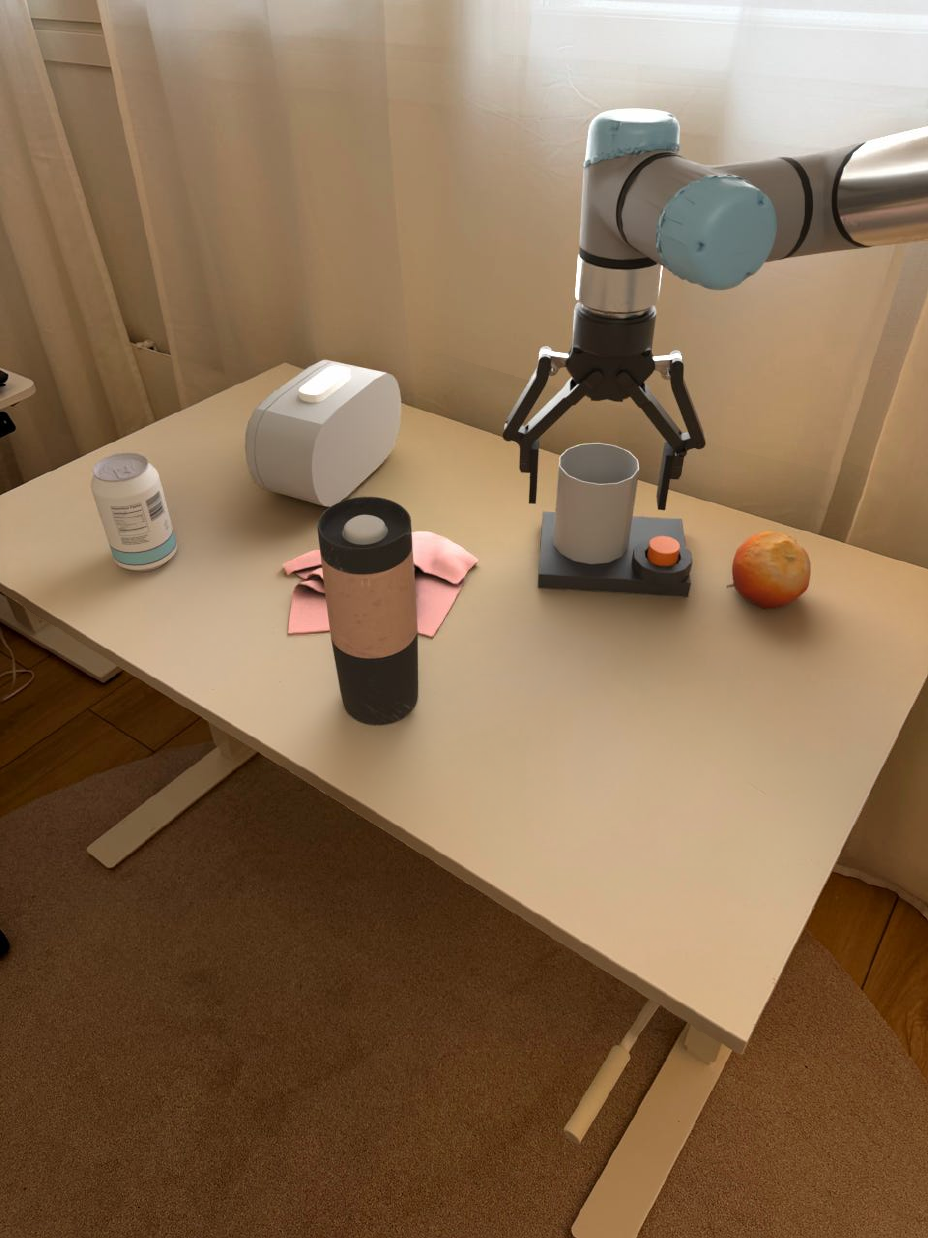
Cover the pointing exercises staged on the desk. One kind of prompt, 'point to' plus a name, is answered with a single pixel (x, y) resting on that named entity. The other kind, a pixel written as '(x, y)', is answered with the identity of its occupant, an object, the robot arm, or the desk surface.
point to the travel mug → (371, 606)
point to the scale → (619, 563)
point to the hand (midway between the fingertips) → (596, 500)
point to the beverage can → (133, 511)
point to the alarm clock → (323, 432)
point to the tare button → (663, 551)
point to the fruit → (771, 570)
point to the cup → (595, 502)
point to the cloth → (434, 584)
